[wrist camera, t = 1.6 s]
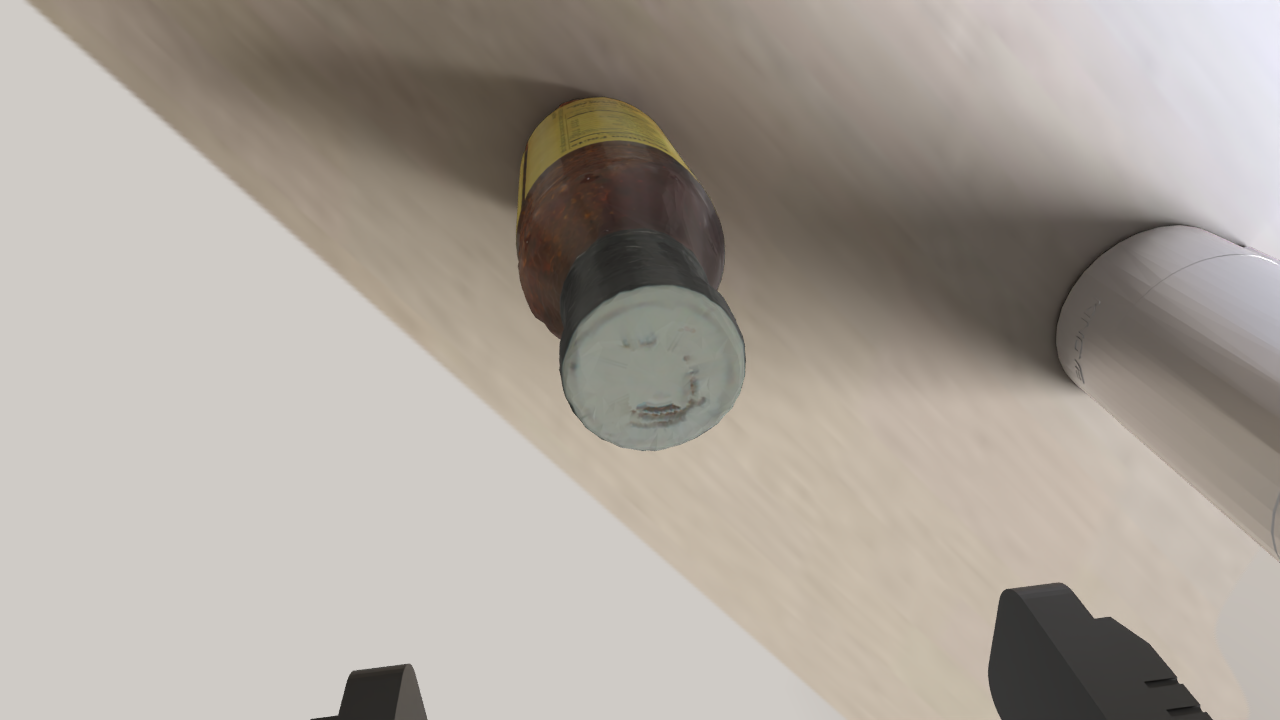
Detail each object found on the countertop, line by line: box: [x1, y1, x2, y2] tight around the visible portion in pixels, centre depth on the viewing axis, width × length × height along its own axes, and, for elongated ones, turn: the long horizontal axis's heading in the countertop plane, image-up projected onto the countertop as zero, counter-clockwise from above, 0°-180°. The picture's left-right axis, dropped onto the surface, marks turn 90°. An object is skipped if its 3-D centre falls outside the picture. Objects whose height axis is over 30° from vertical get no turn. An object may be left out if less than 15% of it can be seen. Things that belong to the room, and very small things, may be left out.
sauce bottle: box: [516, 97, 746, 451], centre depth 27 cm, size 6×6×20 cm
